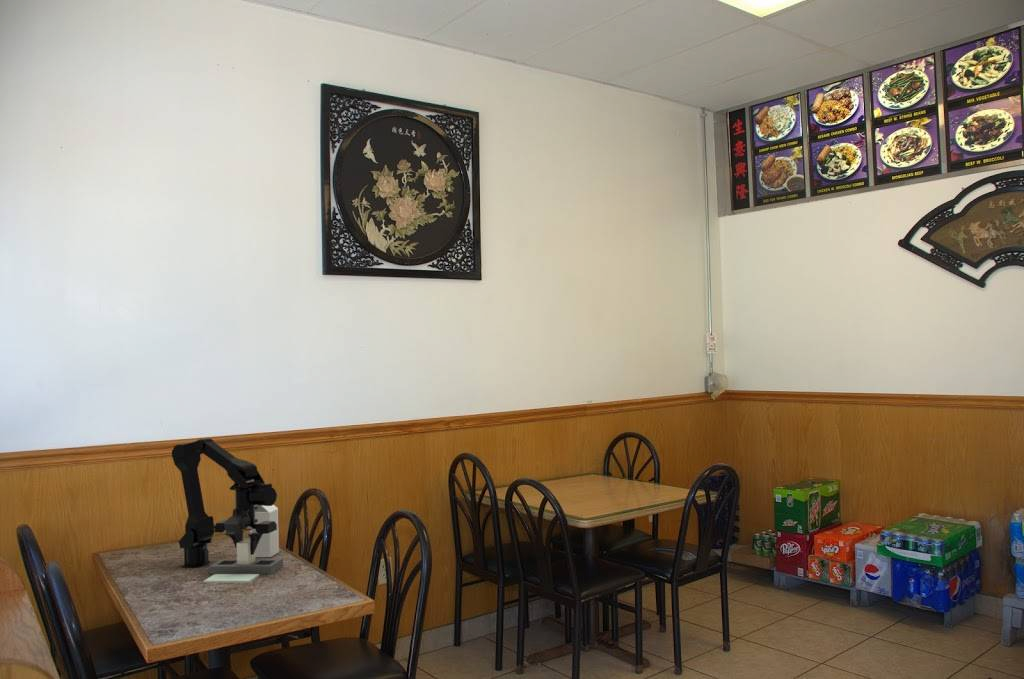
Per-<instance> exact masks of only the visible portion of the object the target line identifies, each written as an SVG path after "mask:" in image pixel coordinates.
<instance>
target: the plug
mask: <svg viewBox="0 0 1024 679" xmlns="http://www.w3.org/2000/svg"><path fill="white" fill-rule="evenodd" d="M236 559H237V565H250V564H252V563H254V562H255V561H256V560H255V559H256V557H255V552H254V554H253V555H251V551H250V539H243V541H240V542H238V543H237V549H236Z"/></svg>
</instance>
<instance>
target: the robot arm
mask: <svg viewBox="0 0 1024 679" xmlns="http://www.w3.org/2000/svg"><path fill="white" fill-rule="evenodd" d="M202 454H203V455H204V456H206V457H207V458H208V459H210V460H211V461H213V462H214V463H215V464H217V465H218V466H219V467H221V468H222V469H224V470H225V471H226V473H227V474H226V475H227V477H228V478H229V479H230V480H231V481H232V482H233V485H231V486H230V487H229V491H234V492H235V494H234V496H235V500H234V501H235V508H233V509H232V516H229V517H228V518H227V519H223V520H221V521H218V522H216V523H214V516H212V515H211V516H209V515H208V514H207V513H206V511H205V506H204V499H203V494H202V489H201V488H202V487H201V481H200V477H199V470H198V467H199V465H200V462H201V456H202ZM171 457H172V460H173V463H174V465H175V468H177V469H178V470H179V472H180V473H181V479H182V485H183V492H184V497H185V502H186V509H187V515H188V516H187V520H186V522H185V526H184V527H185V530H184V534H183V536H182V537H181V538H180V540H179V541H178V545H179V547H180V549H183V552H184V553H183V558H184V560H183V563H184V564H181V568H201V567H203V566H204V565H206V564H208V563H211V562H210V561H211V560H209V548H208V544H210V543H211V542H212V540H213V539H212V538H213V536H214V534H215V533H224V532H226V533H225V534H224V535H225V536H228V537H229V538H231V540H232V542H233V544H234V547H235V549H236V550H237V543H238V542H240V541H243V540H244V531H250V530H252V533H251V534H250V533H249V534H247V535H248V537H249V540H250V551H251V555H253V554H254V552H255V550H256V547H257V545H258V543H259V540H260V538H261V537H262V535H263V534H267V533H270V532H273V531H275V530H277V524H276V523H275V521H264V522H261V523H259V524H255V523H257V519H255V510H256V509H257V506H255V505H261V506H272V505H275V503H276V501H277V497H278V493H277V492H276V489H275V488H274V487H273V484H272V483H271V482H270V483H266V482H265V481H264V478H263V477H262V476H261V474H260V473H259V471H258V467H257V465H256V464H254V463H253V462H251V461H248V460H246V459H245V460H244V459H240V458H237V457H236V456H234V455H233V454H232V453H230V452H229V451H227V450H226V449H225V448H223V447H222V446H220V445H219V444H218V443H216V442H215V441H214V440H213V439H212V438H210V437H207V438H201V439H198V440H196V441H192V442H186V443H178V444H176V445H174V447H173V448H172V449H171Z"/></svg>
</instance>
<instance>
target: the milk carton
mask: <svg viewBox="0 0 1024 679" xmlns="http://www.w3.org/2000/svg"><path fill="white" fill-rule="evenodd" d="M255 506H257V509H256V510H255V519H257V523H255V524H259V523H261V522H264V521H275V523H276V524H277V530H275V531H273V532H270V533H267V534H263V535H262V537H261V538H260V540H259V543H258V545H257V547H256V550H255V558H272V557H273V556H275V555H277V554H278V553H279V552H280V549H279V548H280V543H279V542H280V541H279V540H280V538H279V537H280V536H279V534H280V533H279V509H278V507H277V506H276V505H275V504H273V505H272V506H261V505H255ZM251 533H252V530H249V534H251Z"/></svg>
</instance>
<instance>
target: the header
mask: <svg viewBox="0 0 1024 679" xmlns="http://www.w3.org/2000/svg"><path fill="white" fill-rule="evenodd" d="M255 560H256V561H255V562H254V563H252V564H250V565H237V558H222V559H220V560H218V561H216V562H215V563H212V564H211V565H209V566H208V575H214V574H259V575H272V574H274V573H276V572H277V571H279V568H280V569H282V566H284V562H283V561H284V559H283V558H255Z"/></svg>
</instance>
